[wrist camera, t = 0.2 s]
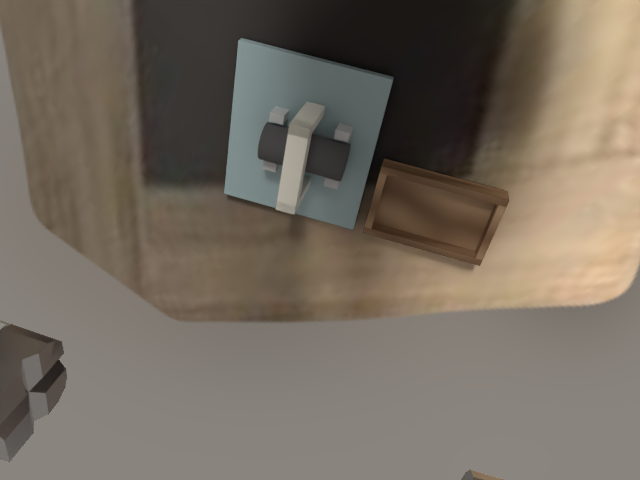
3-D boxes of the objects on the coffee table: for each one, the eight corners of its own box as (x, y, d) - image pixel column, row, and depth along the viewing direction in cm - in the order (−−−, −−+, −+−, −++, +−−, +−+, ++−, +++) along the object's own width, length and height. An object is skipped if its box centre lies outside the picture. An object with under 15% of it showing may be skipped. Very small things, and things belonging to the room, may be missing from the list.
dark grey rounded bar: (272, 116, 57) (260, 129, 54) (352, 138, 56) (346, 153, 53) (267, 150, 59) (255, 165, 56) (344, 171, 58) (338, 187, 55)
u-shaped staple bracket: (307, 101, 55) (289, 123, 49) (325, 106, 55) (309, 129, 49) (293, 181, 60) (275, 209, 55) (309, 185, 60) (294, 214, 55)
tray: (383, 158, 58) (381, 166, 56) (507, 191, 57) (509, 200, 55) (365, 223, 62) (362, 232, 61) (479, 255, 61) (479, 265, 60)
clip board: (241, 38, 54) (231, 44, 52) (393, 76, 53) (390, 85, 50) (227, 189, 64) (217, 201, 62) (354, 225, 63) (350, 238, 61)
